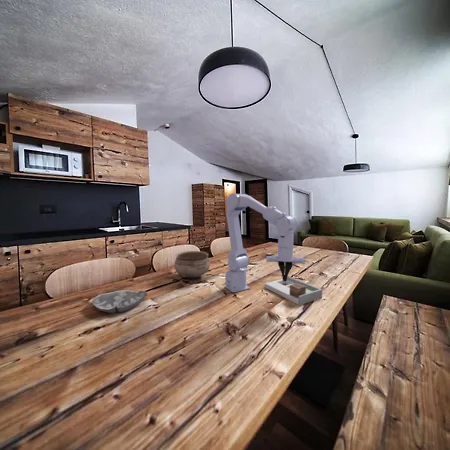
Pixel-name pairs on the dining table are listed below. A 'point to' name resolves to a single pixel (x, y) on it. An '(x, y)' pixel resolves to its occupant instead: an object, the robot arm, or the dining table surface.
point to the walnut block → (297, 290)
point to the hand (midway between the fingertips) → (284, 280)
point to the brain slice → (118, 300)
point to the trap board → (284, 291)
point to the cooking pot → (192, 264)
